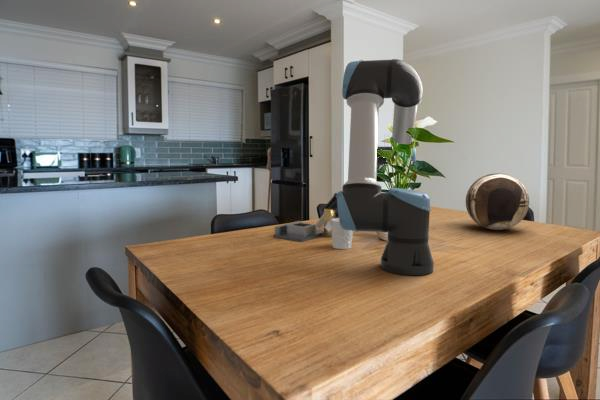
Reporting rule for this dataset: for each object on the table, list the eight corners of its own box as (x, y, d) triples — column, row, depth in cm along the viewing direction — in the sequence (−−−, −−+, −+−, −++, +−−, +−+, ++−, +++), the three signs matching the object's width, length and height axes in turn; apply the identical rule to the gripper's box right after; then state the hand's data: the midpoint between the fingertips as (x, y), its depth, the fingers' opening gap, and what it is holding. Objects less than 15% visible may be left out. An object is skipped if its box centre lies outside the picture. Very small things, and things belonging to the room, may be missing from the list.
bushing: (331, 237, 156) (331, 210, 155) (321, 236, 158) (321, 209, 157) (337, 235, 159) (337, 209, 158) (327, 234, 162) (327, 208, 161)
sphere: (467, 233, 166) (470, 174, 163) (461, 223, 190) (464, 171, 187) (533, 237, 159) (538, 175, 156) (519, 226, 183) (523, 172, 180)
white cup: (327, 248, 139) (327, 220, 138) (335, 243, 146) (336, 217, 145) (348, 250, 136) (348, 222, 134) (356, 246, 142) (356, 219, 141)
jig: (302, 241, 148) (302, 229, 148) (273, 237, 156) (273, 225, 156) (327, 234, 163) (327, 222, 162) (299, 229, 171) (299, 219, 170)
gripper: (374, 193, 157) (341, 238, 151) (346, 189, 173) (314, 229, 167) (365, 181, 154) (330, 226, 148) (336, 177, 170) (304, 218, 163)
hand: (322, 227), depth 157 cm, fingers open, 6 cm apart
